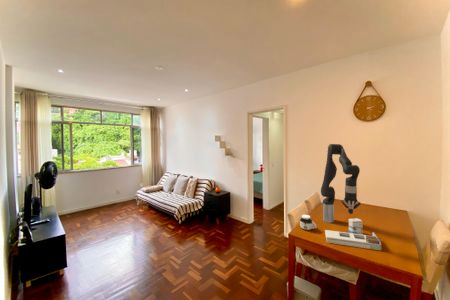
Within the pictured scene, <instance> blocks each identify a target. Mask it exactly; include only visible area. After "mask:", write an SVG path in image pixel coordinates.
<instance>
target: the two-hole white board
mask: <svg viewBox="0 0 450 300" xmlns="http://www.w3.org/2000/svg"><path fill="white" fill-rule="evenodd" d="M371 233H372V235H371V236H376V238H377V239H378V244H375V243H368V242H367V241H366V235H368V234H362V235H361V234H353V233H349V232H344V231H337V230H329V229H328V230H327V229H324V234H325V239H326V243H329V244H335V245H342V246H347V247H348V246H349V247H355V248H360V249H361V248H362V249H369V250H375V251H382V242H381V240H380V239H379V237H378V235H376V234H375V232H371ZM368 236H370V235H368Z"/></svg>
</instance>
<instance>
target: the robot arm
mask: <svg viewBox="0 0 450 300" xmlns="http://www.w3.org/2000/svg"><path fill="white" fill-rule="evenodd" d="M334 155H339V157H338V162H339V164H340V165H341V168H342V173H343V174H344V175H346V176H347V175H350V176H348V177H346V178H345V186H344V198H343V199H342V200H341V203H342V204H343V206H344V207H345V208H346V209H347V212H348V213H349V214H350V215H353V214H354V209H357V208H358V207H359V206H360V205H361V202H360V201H359V200H358V198H357V197H358V194H357V193H358V186H357V185H358V184H357V181H358V177H359V175H360V170H361V169H360V167H359V166H358V165H356V164H353V162H352V161H351V159H350V158H349V157H348V156H347V153H346V151H345V148H344V146H343V145H342V144H338V143H337V144H336V143H329V144H328V146H327V156H326V164H325V169H324V176H323V179H322V185H321V188H320V194H321V196H322V197H323V198H324V199H322V217H323V218H322V221H323V222H325V223H329V224H330V223H331V224H332V223H335V200H336V191H335V188H334V187H333V186H330V185H331V183H332V181H334V179H335V177H336V175H337V170H338V168H337V165H336V163H335V162H334V160H333V156H334Z"/></svg>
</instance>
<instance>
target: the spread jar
mask: <svg viewBox="0 0 450 300" xmlns="http://www.w3.org/2000/svg"><path fill="white" fill-rule="evenodd" d="M299 226H300V228H301V229H302V230H303V229H304V230H303V231H306V230H309V231H311V230H312V229H316V228H317V224H316V223H315V222H314V221H313V220H312V218H311V216H310V215H309V214H302V215H301V218H300V219H299Z"/></svg>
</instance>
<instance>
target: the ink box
mask: <svg viewBox="0 0 450 300" xmlns="http://www.w3.org/2000/svg"><path fill="white" fill-rule="evenodd" d="M348 233H353V234H361V235H363V220H362V219H360V218H356V217H355V218H348Z"/></svg>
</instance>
